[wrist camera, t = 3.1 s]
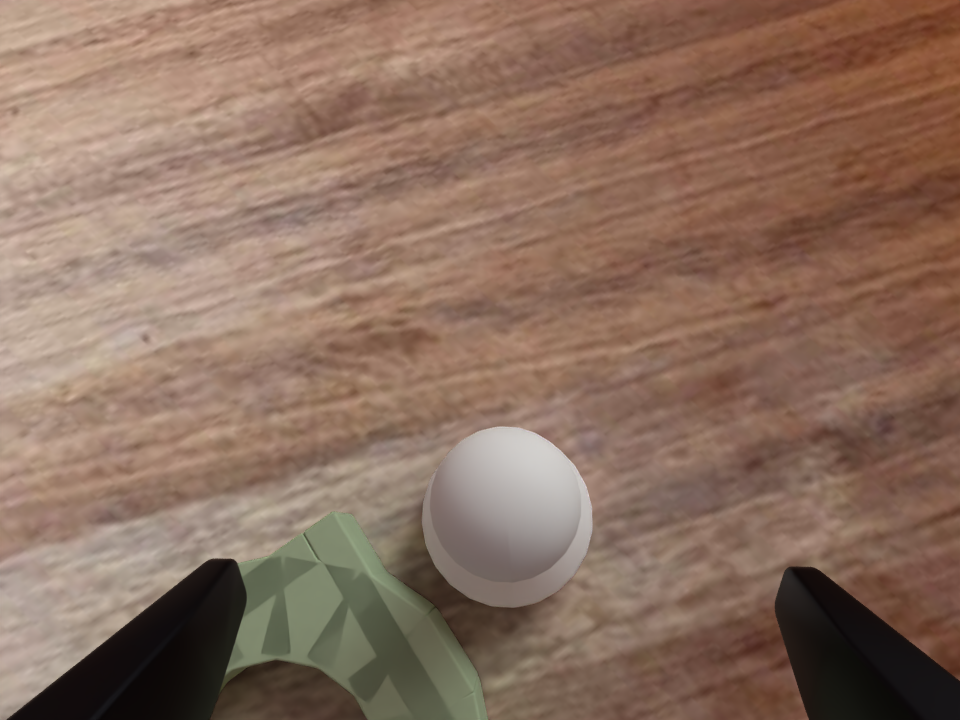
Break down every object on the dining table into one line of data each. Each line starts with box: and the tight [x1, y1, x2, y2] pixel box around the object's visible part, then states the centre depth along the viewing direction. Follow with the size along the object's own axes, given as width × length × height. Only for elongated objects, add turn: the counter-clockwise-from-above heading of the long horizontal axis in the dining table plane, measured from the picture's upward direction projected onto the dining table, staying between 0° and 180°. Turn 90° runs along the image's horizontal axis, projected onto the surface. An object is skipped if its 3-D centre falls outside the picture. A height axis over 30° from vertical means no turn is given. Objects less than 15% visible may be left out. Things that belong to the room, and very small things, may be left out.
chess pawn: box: [422, 427, 592, 608], centre depth 13 cm, size 5×5×9 cm
